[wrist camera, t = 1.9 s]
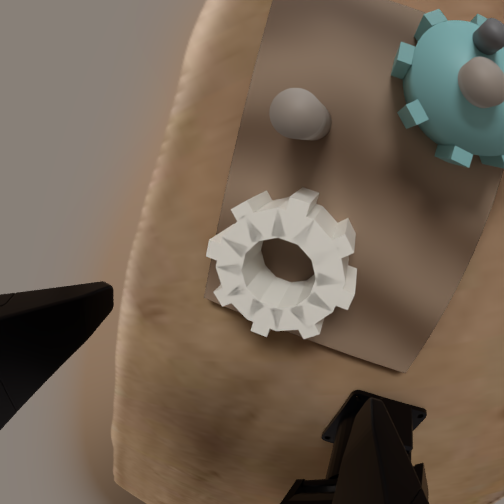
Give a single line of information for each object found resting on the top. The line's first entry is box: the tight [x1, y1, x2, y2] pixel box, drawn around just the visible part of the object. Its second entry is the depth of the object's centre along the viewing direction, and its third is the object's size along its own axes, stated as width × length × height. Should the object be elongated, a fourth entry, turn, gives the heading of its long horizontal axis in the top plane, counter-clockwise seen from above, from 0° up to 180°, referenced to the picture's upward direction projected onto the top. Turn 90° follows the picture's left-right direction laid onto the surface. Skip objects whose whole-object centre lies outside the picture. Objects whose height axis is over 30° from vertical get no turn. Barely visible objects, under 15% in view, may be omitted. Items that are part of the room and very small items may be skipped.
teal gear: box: [391, 9, 504, 169], centre depth 9 cm, size 7×7×5 cm
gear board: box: [204, 0, 504, 373], centre depth 13 cm, size 20×14×5 cm
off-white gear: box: [206, 187, 357, 339], centre depth 15 cm, size 7×7×3 cm
